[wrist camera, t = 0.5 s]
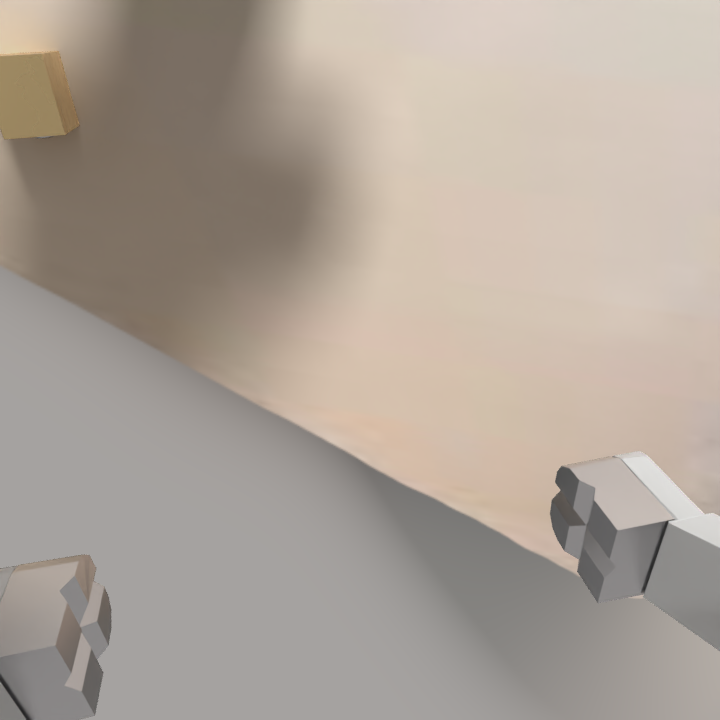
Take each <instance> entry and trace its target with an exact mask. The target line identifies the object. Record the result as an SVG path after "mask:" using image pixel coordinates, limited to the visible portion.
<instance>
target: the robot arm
mask: <svg viewBox="0 0 720 720" xmlns="http://www.w3.org/2000/svg"><path fill="white" fill-rule="evenodd" d="M555 483H556V484H557V486H558V487H559V488H560V492H559V493H558V494H557V495H556V496H555V497H554V498H553V499H552V503H551V511H550V516H551V521H552V527H553V530H554V532H555V535H556V537H557V540H558V541H559V543H560V545H561V546H562V548H563V550H564V551H565V552H567V553H569V554H570V555H572V556H574V557H576V558H577V559H579V562H578V570H577V572H578V573H579V575H580V576H581V578H582V579H583V581H584V583H585V584H586V586H587V587H588V589H589V590H590V592H591V593H592V595H593V596H594V598H595V600H596V601H597V603H601V602H606V601H612V600H617V599H622V598H627V597H633V596H638V595H643V594H644V596H643V597H644V598H645V599H647V600H648V601H649V602H651V603H652V604H654V605H655V606H657V607H658V608H659V609H661V610H663V611H664V612H665V613H667V614H668V615H669V616H671V617H672V618H674V619H675V620H676V621H678V622H679V623H681V624H682V625H684V626H685V627H686V628H688V629H689V630H691V631H692V632H693V633H695V634H696V635H698V636H699V637H701V638H702V639H703V640H705V641H706V642H708V643H709V644H710V645H712V646H713V647H715V648H716V649H718V650H719V651H720V516H718V515H716V514H714V513H709V514H704V513H703V512H702V511H701V510H700V509H699V508H698V507H697V506H696V505H695V504H694V503H693V502H692V501H691V500H690V499H689V498H688V497H687V496H686V495H685V494H684V493H683V492H682V491H681V490H680V489H679V488H678V486H677V485H676V484H675V483H674V482H673V481H672V480H671V479H670V478H669V477H668V476H667V475H666V474H665V473H664V472H663V471H662V470H661V469H660V468H659V467H658V466H657V465H656V464H655V463H654V462H653V461H652V460H651V459H650V458H649V457H648V456H647V455H646V454H644V453H642V452H640V451H636V452H631V453H626V454H621V455H615V456H612V457H604V458H599V459H594V460H589V461H584V462H579V463H574V464H569V465H564V466H561V467H560V469H559V470H558V471H557V475H556V480H555ZM95 572H96V567H95V565H94V563H93V561H92V559H91V557H90V556H89V555H78V556H72V557H65V558H59V559H53V560H47V561H41V562H34V563H28V564H21V565H18V566H12V567H6V568H0V720H79V719H83V718H87V717H91V716H94V715H95V713H96V707H97V702H98V697H99V692H100V687H101V682H102V676H103V671H102V669H101V668H100V665H99V663H98V661H97V659H98V658H99V656H100V655H101V654H102V652H103V651H104V650H105V649H106V648H107V646H108V645H109V639H110V633H111V606H110V602H109V597H108V594H107V592H106V590H105V587H104V586H102V585H100V584H99V583H96V582H95V581H94V576H95Z"/></svg>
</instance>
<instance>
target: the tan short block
mask: <svg viewBox="0 0 720 720" xmlns="http://www.w3.org/2000/svg"><path fill="white" fill-rule="evenodd" d="M78 126H79V122H78V118H77V114H76V111H75V107H74V104H73V100H72V97H71V93H70V89H69V86H68V82H67V79H66V75H65V72H64V68H63V64H62V61H61V57H60V54H59V51H50V52H32V53H13V54H0V129H1V132H2V135H3V137H4V139H17V138H31V137H34V138H47V137H53V136H57V135H66V134H67V133H69V132H70V131H72V130H73V129H75V128H76V127H78Z"/></svg>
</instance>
